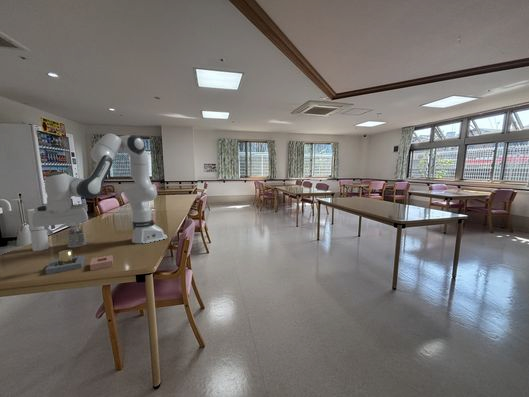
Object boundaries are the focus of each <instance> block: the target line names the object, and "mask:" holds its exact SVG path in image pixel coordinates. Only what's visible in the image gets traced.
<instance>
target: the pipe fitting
mask: <svg viewBox="0 0 529 397" xmlns="http://www.w3.org/2000/svg"><path fill="white" fill-rule="evenodd" d="M58 257H59V258H58V259H60V265H65V264H71V263H74V262H73V257H74V256H73V249H64V250H61V251H59V252H58Z"/></svg>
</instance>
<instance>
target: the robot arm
mask: <svg viewBox="0 0 529 397" xmlns="http://www.w3.org/2000/svg"><path fill="white" fill-rule="evenodd" d="M145 149H146V146H145V141H144V139H143V138H142V137H141V136H138V135H134V134H132V135H128V134H126V135H121V136H118V135H116V134H114V133H106V134H104V135H103V136H102V137H100V139H98V141H97V142H96V143H95V144H94V145H93V147H92V149H91V150H90V153H89V154H90V157H91V159H92V161H94V162H96V165H95V167H94V169H93V170H92V172H91V174H90V175H89V176H88V177H86V178H78V177H75V176H73V175H72V176H71V175H69V174H67V173H66V172H51V173H49V174H46V175H45V178H44V190H45V194H46V196H47V198H46V203H42V204H40V205H37V206H35V207H34V208H33V209H34V211H35V213H34V214H33V226H35V227H41V226H44V229H45V230H47V235H49V236H51V235H53V234H54V230H52V229H50V226H56V225H57V226H59V225H68V224H70V223H76V225H77V226H74V227H73V230H74V232H75V231H78V229H79V225H80V222H81V223H86V222H87V221H89V215H88V213H87V212H88V211H89V209H88V206H87V205H86V204H84V203H79V204H73V203H72V202H73V201H72V197H78V198H84V199H88V200H90V199H92V200H93V199H95V198H98V197H99V196H100V195H101V193H102V191H103V186H104V182H105V180H106V178H107V176H108V175H109V173H110V171H111V169H112V166H113V163H114V159H115V158H116V156H117V155H118V154H128V156H129V170H130V172H129V173H130V177H131V179H133V181H134V184H131V185H128V186H126V187H125V188H124V190H123V195H124V197H125V198H126V199H127V201H128V203H129V205H130V208H131V214H132V223H131V225H132V230H133V231H132V238H131V243H134V244H142V243H143V244H142V245H144V244H145V243H146V244H148V243H149V244H150V242H151V243H155V242H159V240H160V241H164V240H163V239H165V240H167V239H168V235H167V234H165V233H164V230H163V229H162V227H159V226H158V225H156V224H157V222H156V221H155V220H154V219H152V214H151V213H152V212H151V208H150V207H149V205H148V204H147V203H148V202H152V201H155V199H156V198H157V196H158V192H157V189H156V188H155V187H154V185H153V182H152V181H151V179H150V178H151V177H150V170H149V169H150V166H149V165H150V164H149V156H148V153H147V151H146V150H145ZM80 226H81V225H80ZM166 238H167V239H166ZM154 241H155V242H154ZM146 244H145V245H146Z"/></svg>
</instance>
